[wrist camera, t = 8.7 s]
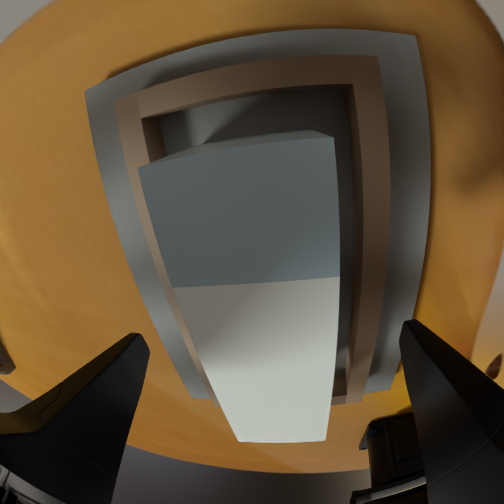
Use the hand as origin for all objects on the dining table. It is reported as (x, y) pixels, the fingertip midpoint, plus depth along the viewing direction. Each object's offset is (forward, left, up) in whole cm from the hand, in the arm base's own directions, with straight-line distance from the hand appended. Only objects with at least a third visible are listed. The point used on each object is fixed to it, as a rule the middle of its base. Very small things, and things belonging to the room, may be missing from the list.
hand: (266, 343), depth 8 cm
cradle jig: (0, 0, -5) cm, 5 cm away
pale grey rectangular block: (0, 0, -4) cm, 4 cm away
